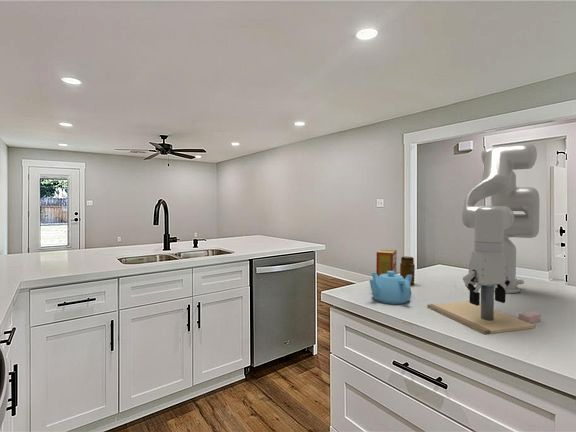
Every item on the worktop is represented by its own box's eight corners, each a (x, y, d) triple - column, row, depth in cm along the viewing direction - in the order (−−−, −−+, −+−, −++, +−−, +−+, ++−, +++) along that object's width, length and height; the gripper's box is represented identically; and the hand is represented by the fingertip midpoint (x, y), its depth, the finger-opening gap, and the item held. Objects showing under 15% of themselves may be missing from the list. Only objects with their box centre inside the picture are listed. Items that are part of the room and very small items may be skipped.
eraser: (529, 318, 103) (530, 311, 103) (540, 321, 101) (540, 313, 100) (518, 321, 101) (518, 313, 101) (529, 324, 98) (529, 317, 98)
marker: (487, 315, 103) (487, 278, 102) (496, 319, 99) (497, 280, 99) (477, 317, 102) (477, 279, 101) (487, 321, 98) (487, 281, 98)
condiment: (409, 281, 151) (409, 255, 150) (421, 286, 143) (421, 258, 142) (395, 282, 149) (395, 256, 149) (406, 287, 141) (406, 259, 140)
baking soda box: (392, 290, 135) (392, 252, 135) (376, 288, 138) (376, 251, 138) (396, 285, 144) (396, 249, 143) (381, 283, 147) (381, 248, 146)
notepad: (470, 303, 118) (470, 300, 118) (535, 327, 95) (535, 324, 95) (427, 307, 114) (427, 304, 114) (484, 334, 90) (484, 330, 90)
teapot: (367, 303, 119) (367, 274, 119) (371, 292, 133) (372, 266, 133) (411, 307, 114) (412, 277, 113) (411, 296, 128) (412, 268, 127)
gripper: (500, 244, 105) (499, 297, 106) (455, 246, 101) (454, 301, 102) (522, 248, 98) (521, 304, 99) (474, 250, 94) (473, 309, 94)
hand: (487, 303), depth 100 cm, fingers open, 9 cm apart
